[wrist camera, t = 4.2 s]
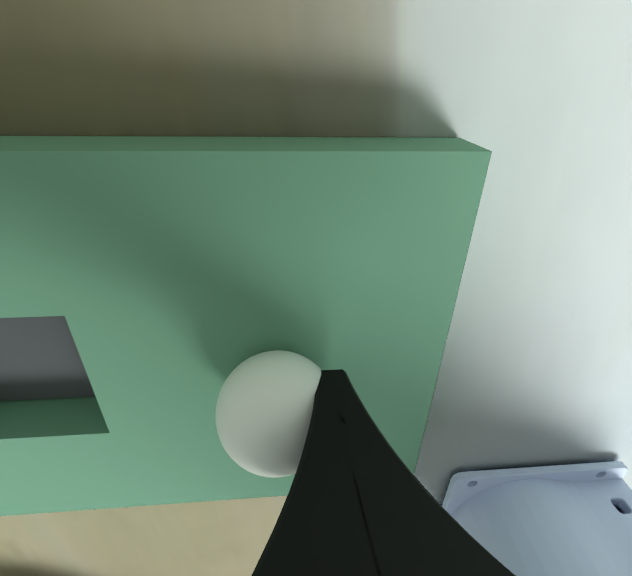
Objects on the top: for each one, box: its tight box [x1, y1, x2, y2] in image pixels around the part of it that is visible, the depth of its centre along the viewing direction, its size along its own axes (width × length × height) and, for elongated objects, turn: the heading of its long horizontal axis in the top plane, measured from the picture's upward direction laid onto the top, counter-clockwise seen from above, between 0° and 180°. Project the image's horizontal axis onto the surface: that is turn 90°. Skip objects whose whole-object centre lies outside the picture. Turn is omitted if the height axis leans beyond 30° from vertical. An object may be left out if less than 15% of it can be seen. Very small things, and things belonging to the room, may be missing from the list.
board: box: [0, 136, 492, 516], centre depth 13 cm, size 18×14×2 cm
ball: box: [215, 350, 321, 478], centre depth 11 cm, size 4×4×4 cm
